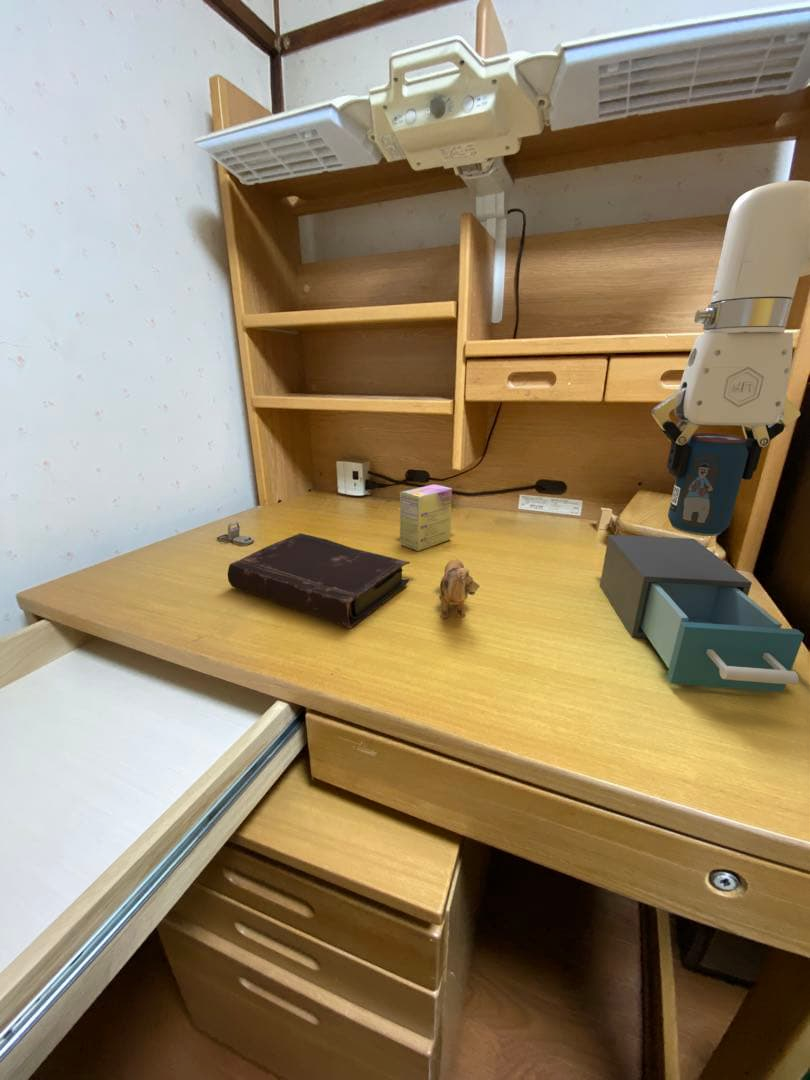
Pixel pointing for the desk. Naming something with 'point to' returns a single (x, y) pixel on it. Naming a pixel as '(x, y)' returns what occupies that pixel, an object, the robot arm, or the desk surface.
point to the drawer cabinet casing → (658, 572)
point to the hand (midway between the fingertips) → (708, 475)
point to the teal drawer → (718, 638)
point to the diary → (320, 577)
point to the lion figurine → (456, 587)
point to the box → (425, 516)
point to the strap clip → (235, 536)
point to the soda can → (708, 484)
